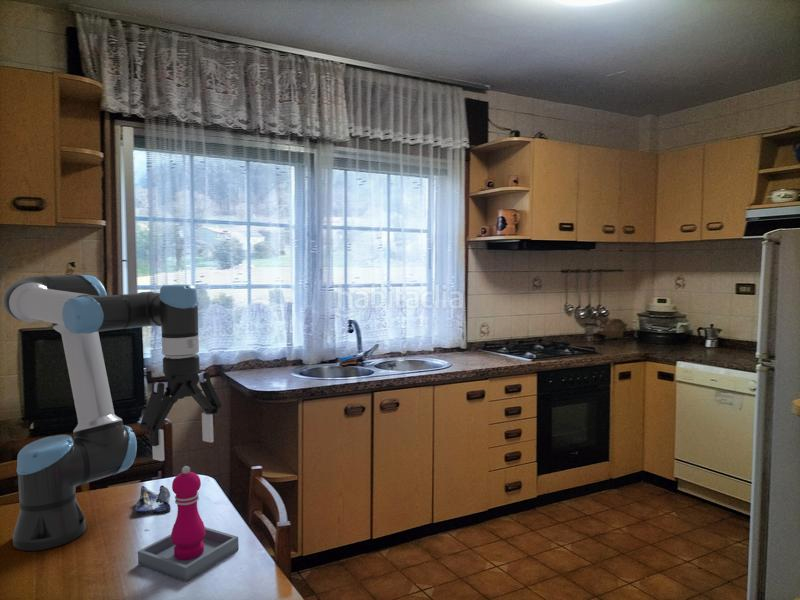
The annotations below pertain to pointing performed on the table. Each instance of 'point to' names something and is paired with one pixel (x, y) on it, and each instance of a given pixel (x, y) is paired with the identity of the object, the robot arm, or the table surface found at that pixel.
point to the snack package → (153, 501)
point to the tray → (165, 562)
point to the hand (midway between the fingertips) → (184, 450)
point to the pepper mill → (187, 517)
